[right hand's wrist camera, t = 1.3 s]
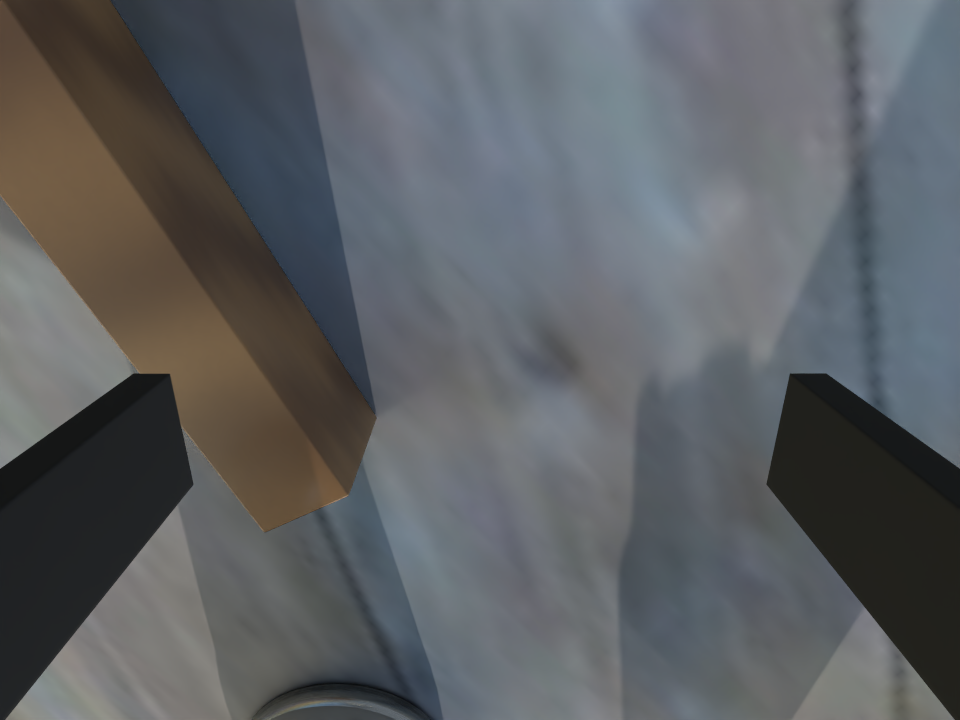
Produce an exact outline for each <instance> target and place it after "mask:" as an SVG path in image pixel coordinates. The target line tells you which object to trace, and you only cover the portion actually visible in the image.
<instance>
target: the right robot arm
mask: <svg viewBox="0 0 960 720" xmlns="http://www.w3.org/2000/svg"><path fill="white" fill-rule="evenodd" d="M192 486H193V480H192V475H191V471H190V466H189V461H188V456H187V452H186V447H185V442H184V438H183V433H182V428H181V423H180V419H179V414H178V409H177V405H176V400H175V395H174V391H173V386H172V381H171V376H170V374H132V375H131V376H130V377H128V378H127V379H125V380H124V381H123V382H121V383H120V384H118V385H117V386H116V387H114V388H113V389H111V390H110V391H109V392H107V393H106V394H104V395H103V396H102V397H100V398H99V399H97V400H96V401H95V402H93V403H92V404H90V405H89V406H88V407H86V408H85V409H83V410H82V411H81V412H79V413H78V414H76V415H75V416H74V417H72V418H71V419H69V420H68V421H67V422H65V423H64V424H62V425H61V426H60V427H58V428H57V429H55V430H54V431H53V432H51V433H50V434H48V435H47V436H46V437H44V438H43V439H41V440H40V441H39V442H37V443H36V444H34V445H33V446H32V447H30V448H29V449H27V450H26V451H25V452H23V453H22V454H20V455H19V456H18V457H16V458H15V459H13V460H12V461H11V462H9V463H8V464H6V465H5V466H4V467H2V468H1V469H0V720H5V719H6V718H7V717H8V715H9V714H10V713H11V712H12V710H13V709H14V708H15V707H16V705H17V704H18V703H19V702H20V700H21V699H22V698H23V697H24V695H25V694H26V693H27V692H28V690H29V689H30V688H31V687H32V685H33V684H34V683H35V682H36V680H37V679H38V678H39V677H40V675H41V674H42V673H43V672H44V670H45V669H46V668H47V667H48V665H49V664H50V663H51V662H52V661H53V659H54V658H55V657H56V656H57V654H58V653H59V652H60V651H61V649H62V648H63V647H64V646H65V644H66V643H67V642H68V641H69V639H70V638H71V637H72V636H73V634H74V633H75V632H76V631H77V629H78V628H79V627H80V626H81V624H82V623H83V622H84V621H85V619H86V618H87V617H88V616H89V614H90V613H91V612H92V611H93V609H94V608H95V607H96V606H97V604H98V603H99V602H100V601H101V599H102V598H103V597H104V596H105V594H106V593H107V592H108V591H109V589H110V588H111V587H112V586H113V584H114V583H115V582H116V581H117V579H118V578H119V577H120V576H121V574H122V573H123V572H124V571H125V569H126V568H127V567H128V566H129V564H130V563H131V562H132V561H133V559H134V558H135V557H136V556H137V554H138V553H139V552H140V551H141V549H142V548H143V547H144V546H145V544H146V543H147V542H148V541H149V539H150V538H151V537H152V536H153V534H154V533H155V532H156V531H157V529H158V528H159V527H160V526H161V524H162V523H163V522H164V521H165V519H166V518H167V517H168V516H169V514H170V513H171V512H172V511H173V509H174V508H175V507H176V506H177V504H178V503H179V502H180V501H181V499H182V498H183V497H184V496H185V494H186V493H187V492H188V491H189V489H190V488H191V487H192ZM767 486H768V487H769V488H770V489H771V491H772V492H773V493H774V494H775V496H776V497H777V498H778V499H779V501H780V502H781V503H782V504H783V506H784V507H785V508H786V509H787V511H788V512H789V513H790V514H791V516H792V517H793V518H794V519H795V521H796V522H797V523H798V524H799V526H800V527H801V528H802V529H803V531H804V532H805V533H806V534H807V536H808V537H809V538H810V539H811V541H812V542H813V543H814V544H815V546H816V547H817V548H818V549H819V551H820V552H821V553H822V554H823V556H824V557H825V558H826V559H827V561H828V562H829V563H830V564H831V566H832V567H833V568H834V569H835V571H836V572H837V573H838V574H839V576H840V577H841V578H842V579H843V581H844V582H845V583H846V584H847V586H848V587H849V588H850V589H851V591H852V592H853V593H854V594H855V596H856V597H857V598H858V599H859V601H860V602H861V603H862V604H863V606H864V607H865V608H866V609H867V611H868V612H869V613H870V614H871V616H872V617H873V618H874V619H875V621H876V622H877V623H878V624H879V626H880V627H881V628H882V629H883V631H884V632H885V633H886V634H887V636H888V637H889V638H890V639H891V641H892V642H893V643H894V644H895V646H896V647H897V648H898V649H899V651H900V652H901V653H902V654H903V656H904V657H905V658H906V659H907V661H908V662H909V663H910V664H911V666H912V667H913V668H914V669H915V670H916V672H917V673H918V674H919V675H920V677H921V678H922V679H923V680H924V682H925V683H926V684H927V685H928V687H929V688H930V689H931V690H932V692H933V693H934V694H935V695H936V697H937V698H938V699H939V700H940V702H941V703H942V704H943V705H944V707H945V708H946V709H947V710H948V712H949V713H950V714H951V715H952V717H953V718H954V719H955V720H960V469H959V468H958V467H956V466H955V465H954V464H952V463H951V462H949V461H948V460H947V459H945V458H944V457H942V456H941V455H940V454H938V453H937V452H935V451H934V450H933V449H931V448H930V447H928V446H927V445H926V444H924V443H923V442H921V441H920V440H919V439H917V438H916V437H914V436H913V435H912V434H910V433H909V432H907V431H906V430H905V429H903V428H902V427H900V426H899V425H898V424H896V423H895V422H893V421H892V420H891V419H889V418H888V417H886V416H885V415H884V414H882V413H881V412H879V411H878V410H877V409H875V408H874V407H872V406H871V405H870V404H868V403H867V402H865V401H864V400H863V399H861V398H860V397H858V396H857V395H856V394H854V393H853V392H851V391H850V390H849V389H847V388H846V387H844V386H843V385H842V384H840V383H839V382H837V381H836V380H835V379H833V378H832V377H830V376H829V375H828V374H790V376H789V381H788V386H787V391H786V395H785V400H784V405H783V409H782V414H781V419H780V423H779V428H778V433H777V438H776V442H775V447H774V452H773V456H772V461H771V466H770V471H769V475H768V480H767ZM252 720H431V719H430V718H429V717H428V716H427V715H426V714H425V713H423V712H422V711H421V710H419V709H418V708H417V707H415V706H414V705H412V704H411V703H409V702H407V701H405V700H403V699H401V698H399V697H397V696H395V695H392V694H390V693H387V692H384V691H381V690H378V689H374V688H370V687H364V686H359V685H350V684H324V685H315V686H309V687H304V688H301V689H297V690H294V691H291V692H288V693H286V694H284V695H281V696H279V697H277V698H276V699H274V700H272V701H271V702H269V703H268V704H266V705H265V706H264V707H263V708H262V709H260V710H259V711H258V712H257V714H256V715H255V716H254V717H253V718H252Z"/></svg>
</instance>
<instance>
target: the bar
mask: <svg viewBox="0 0 960 720" xmlns="http://www.w3.org/2000/svg"><path fill="white" fill-rule="evenodd" d="M0 196H1V197H2V198H3V200H4V201H5V202H6V203H7V205H8V206H9V207H10V208H11V210H12V211H13V212H14V214H15V215H16V216H17V217H18V219H19V220H20V221H21V222H22V224H23V225H24V226H25V228H26V229H27V230H28V231H29V233H30V234H31V235H32V237H33V238H34V239H35V240H36V242H37V243H38V244H39V245H40V247H41V248H42V249H43V251H44V252H45V253H46V254H47V256H48V257H49V258H50V260H51V261H52V262H53V263H54V265H55V266H56V267H57V268H58V270H59V271H60V272H61V274H62V275H63V276H64V277H65V279H66V280H67V281H68V283H69V284H70V285H71V286H72V288H73V289H74V290H75V291H76V293H77V294H78V295H79V297H80V298H81V299H82V300H83V302H84V303H85V304H86V305H87V307H88V308H89V309H90V311H91V312H92V313H93V314H94V316H95V317H96V318H97V320H98V321H99V322H100V323H101V325H102V326H103V327H104V328H105V330H106V331H107V332H108V334H109V335H110V336H111V337H112V339H113V340H114V341H115V343H116V344H117V345H118V346H119V348H120V349H121V350H122V351H123V353H124V354H125V355H126V357H127V358H128V359H129V360H130V362H131V363H132V364H133V366H134V367H135V368H136V369H137V371H138V372H139V373H140V374H170V376H171V381H172V386H173V391H174V395H175V400H176V405H177V409H178V414H179V419H180V423H181V427H182V428H183V429H184V431H185V432H186V433H187V434H188V436H189V437H190V438H191V440H192V441H193V442H194V443H195V445H196V446H197V447H198V449H199V450H200V451H201V452H202V454H203V455H204V456H205V457H206V459H207V460H208V461H209V463H210V464H211V465H212V466H213V468H214V469H215V470H216V471H217V473H218V474H219V475H220V477H221V478H222V479H223V480H224V482H225V483H226V484H227V486H228V487H229V488H230V489H231V491H232V492H233V493H234V494H235V496H236V497H237V498H238V500H239V501H240V502H241V503H242V505H243V506H244V507H245V509H246V510H247V511H248V512H249V514H250V515H251V516H252V517H253V519H254V520H255V521H256V523H257V524H258V525H259V526H260V528H261V529H262V530H263V531H264V532H267V531H269V530H272V529H274V528H276V527H279V526H281V525H283V524H285V523H288V522H290V521H292V520H294V519H297V518H299V517H301V516H304V515H306V514H308V513H310V512H313V511H315V510H317V509H319V508H322V507H324V506H326V505H329V504H331V503H333V502H335V501H338V500H340V499H342V498H344V497H347V496H348V495H349V494H350V491H351V488H352V485H353V482H354V480H355V477H356V474H357V471H358V468H359V466H360V463H361V460H362V457H363V454H364V452H365V449H366V446H367V443H368V441H369V438H370V435H371V432H372V429H373V427H374V424H375V421H376V416H375V414H374V413H373V411H372V410H371V408H370V406H369V405H368V403H367V402H366V400H365V399H364V397H363V395H362V394H361V392H360V391H359V389H358V388H357V386H356V385H355V383H354V381H353V380H352V378H351V377H350V375H349V374H348V372H347V370H346V369H345V367H344V366H343V364H342V363H341V361H340V359H339V358H338V356H337V355H336V353H335V352H334V350H333V349H332V347H331V345H330V344H329V342H328V341H327V339H326V338H325V336H324V334H323V333H322V331H321V330H320V328H319V327H318V325H317V323H316V322H315V320H314V319H313V317H312V316H311V314H310V313H309V311H308V309H307V308H306V306H305V305H304V303H303V302H302V300H301V298H300V297H299V295H298V294H297V292H296V291H295V289H294V287H293V286H292V284H291V283H290V281H289V280H288V278H287V277H286V275H285V273H284V272H283V270H282V269H281V267H280V266H279V264H278V262H277V261H276V259H275V258H274V256H273V255H272V253H271V251H270V250H269V248H268V247H267V245H266V244H265V242H264V241H263V239H262V237H261V236H260V234H259V233H258V231H257V230H256V228H255V226H254V225H253V223H252V222H251V220H250V219H249V217H248V215H247V214H246V212H245V211H244V209H243V208H242V206H241V205H240V203H239V201H238V200H237V198H236V197H235V195H234V194H233V192H232V190H231V189H230V187H229V186H228V184H227V183H226V181H225V179H224V178H223V176H222V175H221V173H220V172H219V170H218V169H217V167H216V165H215V164H214V162H213V161H212V159H211V158H210V156H209V154H208V153H207V151H206V150H205V148H204V147H203V145H202V143H201V142H200V140H199V139H198V137H197V136H196V134H195V133H194V131H193V129H192V128H191V126H190V125H189V123H188V122H187V120H186V118H185V117H184V115H183V114H182V112H181V111H180V109H179V107H178V106H177V104H176V103H175V101H174V100H173V98H172V97H171V95H170V93H169V92H168V90H167V89H166V87H165V86H164V84H163V82H162V81H161V79H160V78H159V76H158V75H157V73H156V71H155V70H154V68H153V67H152V65H151V64H150V62H149V61H148V59H147V57H146V56H145V54H144V53H143V51H142V50H141V48H140V46H139V45H138V43H137V42H136V40H135V39H134V37H133V35H132V34H131V32H130V31H129V29H128V28H127V26H126V25H125V23H124V21H123V20H122V18H121V17H120V15H119V14H118V12H117V10H116V9H115V7H114V6H113V4H112V3H111V1H110V0H0Z"/></svg>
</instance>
